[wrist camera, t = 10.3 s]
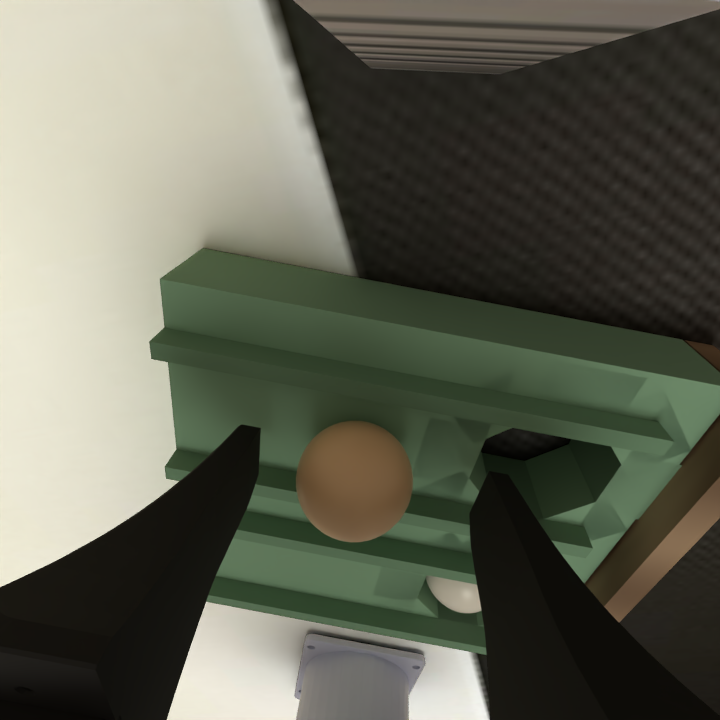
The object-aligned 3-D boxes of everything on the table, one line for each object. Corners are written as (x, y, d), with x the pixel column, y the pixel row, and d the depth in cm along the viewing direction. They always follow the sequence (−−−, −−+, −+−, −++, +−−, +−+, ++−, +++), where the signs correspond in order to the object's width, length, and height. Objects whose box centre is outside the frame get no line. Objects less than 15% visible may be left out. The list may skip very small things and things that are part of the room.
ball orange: (274, 507, 14) (347, 443, 16) (354, 587, 13) (424, 505, 15) (267, 446, 12) (354, 379, 14) (365, 536, 10) (447, 445, 12)
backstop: (530, 602, 24) (552, 691, 20) (513, 599, 24) (531, 687, 20) (713, 345, 15) (810, 423, 11) (685, 340, 15) (773, 416, 11)
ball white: (483, 562, 22) (503, 632, 19) (415, 558, 22) (424, 629, 19) (498, 513, 21) (523, 581, 17) (424, 509, 21) (436, 576, 17)
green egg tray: (516, 600, 24) (534, 681, 20) (214, 542, 24) (182, 614, 20) (690, 341, 15) (772, 411, 11) (202, 248, 15) (143, 291, 11)
